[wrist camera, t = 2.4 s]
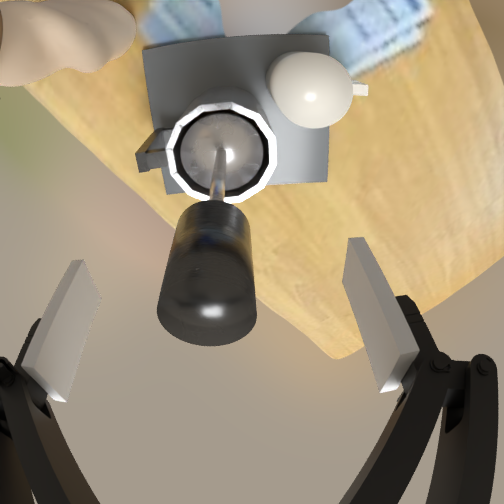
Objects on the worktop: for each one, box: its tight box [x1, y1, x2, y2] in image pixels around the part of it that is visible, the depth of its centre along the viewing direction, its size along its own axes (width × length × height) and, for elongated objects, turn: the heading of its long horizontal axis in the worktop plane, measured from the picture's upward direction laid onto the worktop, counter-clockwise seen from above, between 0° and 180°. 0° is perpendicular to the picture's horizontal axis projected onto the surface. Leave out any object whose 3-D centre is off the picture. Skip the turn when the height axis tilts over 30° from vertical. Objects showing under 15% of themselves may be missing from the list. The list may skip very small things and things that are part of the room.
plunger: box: [157, 112, 263, 346], centre depth 20 cm, size 7×7×19 cm
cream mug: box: [266, 51, 368, 128], centre depth 29 cm, size 8×10×9 cm
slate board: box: [142, 34, 329, 195], centre depth 36 cm, size 20×22×1 cm
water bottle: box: [0, 0, 136, 86], centre depth 17 cm, size 10×9×28 cm
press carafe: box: [135, 85, 277, 203], centre depth 31 cm, size 10×13×12 cm
